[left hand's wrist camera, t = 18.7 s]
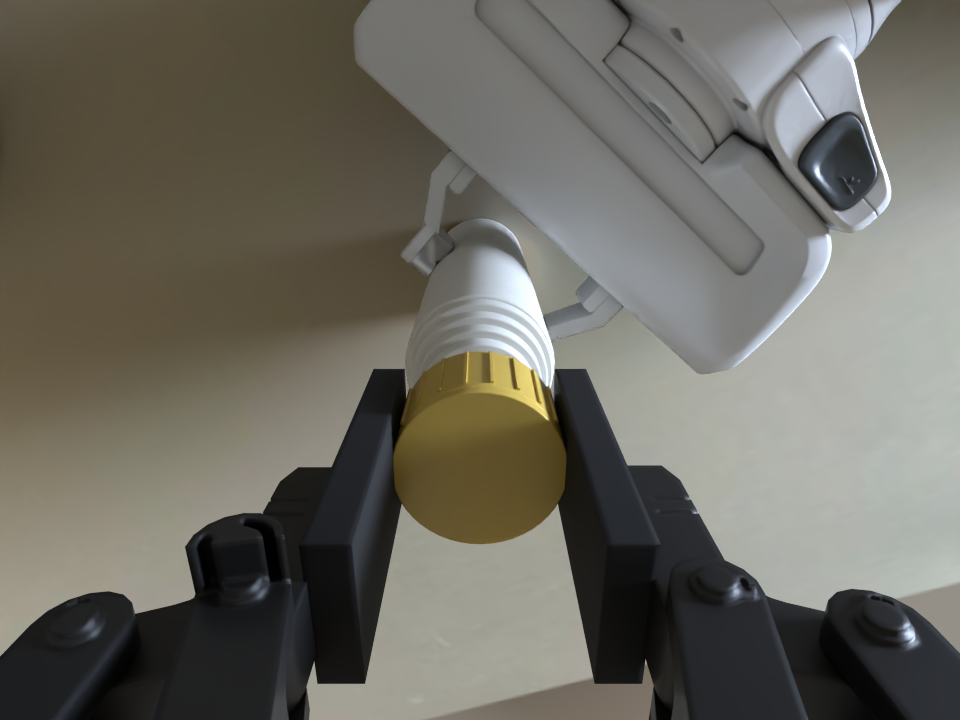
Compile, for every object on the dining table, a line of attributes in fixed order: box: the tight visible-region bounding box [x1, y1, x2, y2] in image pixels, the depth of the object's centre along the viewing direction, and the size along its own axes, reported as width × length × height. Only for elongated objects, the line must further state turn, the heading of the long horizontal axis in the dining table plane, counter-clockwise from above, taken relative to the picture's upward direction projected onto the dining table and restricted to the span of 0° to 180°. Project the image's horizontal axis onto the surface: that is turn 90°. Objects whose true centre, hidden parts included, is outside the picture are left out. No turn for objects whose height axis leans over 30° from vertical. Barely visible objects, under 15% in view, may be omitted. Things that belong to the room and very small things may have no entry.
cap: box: [393, 351, 567, 544], centre depth 14 cm, size 4×4×2 cm
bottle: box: [405, 218, 554, 388], centre depth 23 cm, size 4×4×20 cm
